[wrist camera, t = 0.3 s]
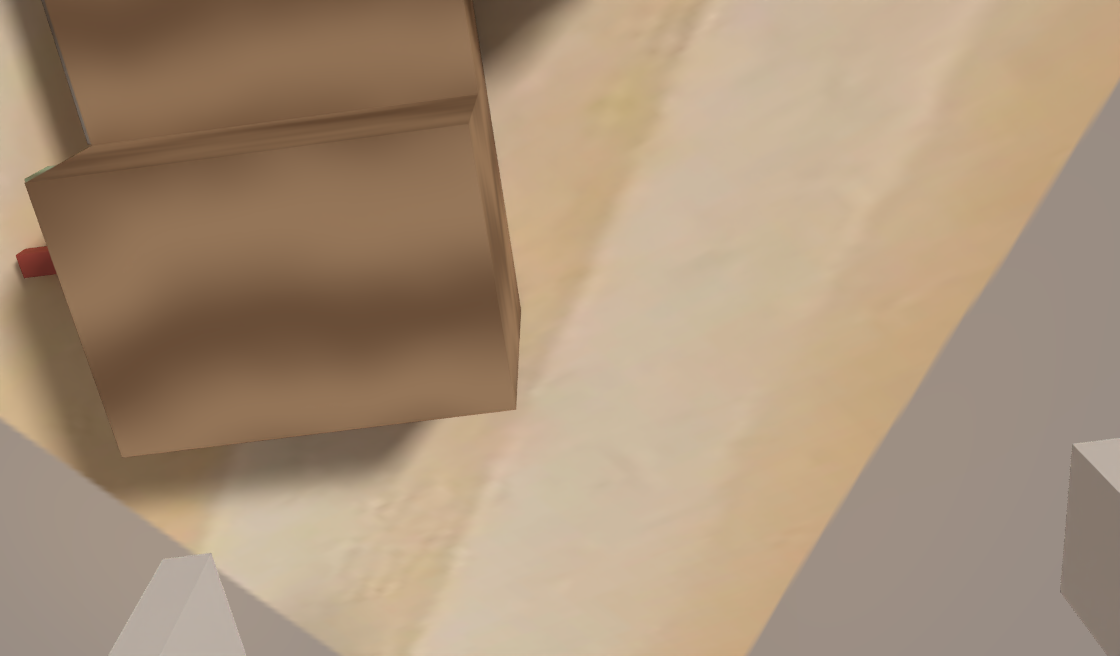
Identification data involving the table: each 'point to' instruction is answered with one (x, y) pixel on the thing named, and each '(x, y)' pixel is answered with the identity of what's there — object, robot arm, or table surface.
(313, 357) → the step stand
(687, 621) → the table surface
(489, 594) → the table surface
